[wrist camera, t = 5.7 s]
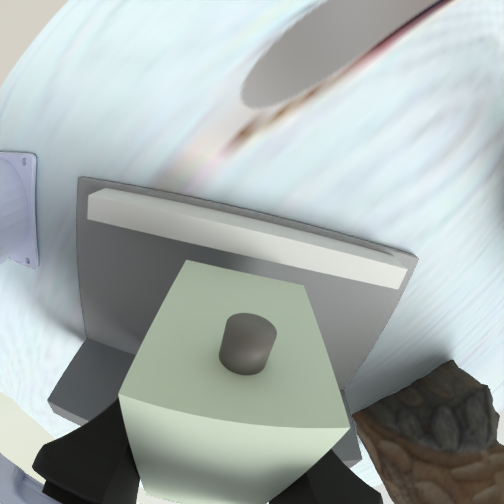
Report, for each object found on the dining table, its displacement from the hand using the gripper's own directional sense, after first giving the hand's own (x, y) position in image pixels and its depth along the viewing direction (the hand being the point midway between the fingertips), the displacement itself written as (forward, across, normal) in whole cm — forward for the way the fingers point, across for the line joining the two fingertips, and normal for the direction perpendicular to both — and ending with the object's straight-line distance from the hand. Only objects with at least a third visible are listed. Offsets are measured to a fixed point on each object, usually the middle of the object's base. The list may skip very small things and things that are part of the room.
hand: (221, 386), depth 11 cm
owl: (+6, -20, +8) cm, 22 cm away
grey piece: (+5, 0, 0) cm, 5 cm away
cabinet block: (+2, 0, 0) cm, 2 cm away
